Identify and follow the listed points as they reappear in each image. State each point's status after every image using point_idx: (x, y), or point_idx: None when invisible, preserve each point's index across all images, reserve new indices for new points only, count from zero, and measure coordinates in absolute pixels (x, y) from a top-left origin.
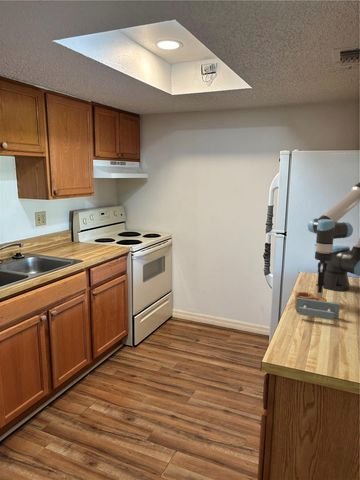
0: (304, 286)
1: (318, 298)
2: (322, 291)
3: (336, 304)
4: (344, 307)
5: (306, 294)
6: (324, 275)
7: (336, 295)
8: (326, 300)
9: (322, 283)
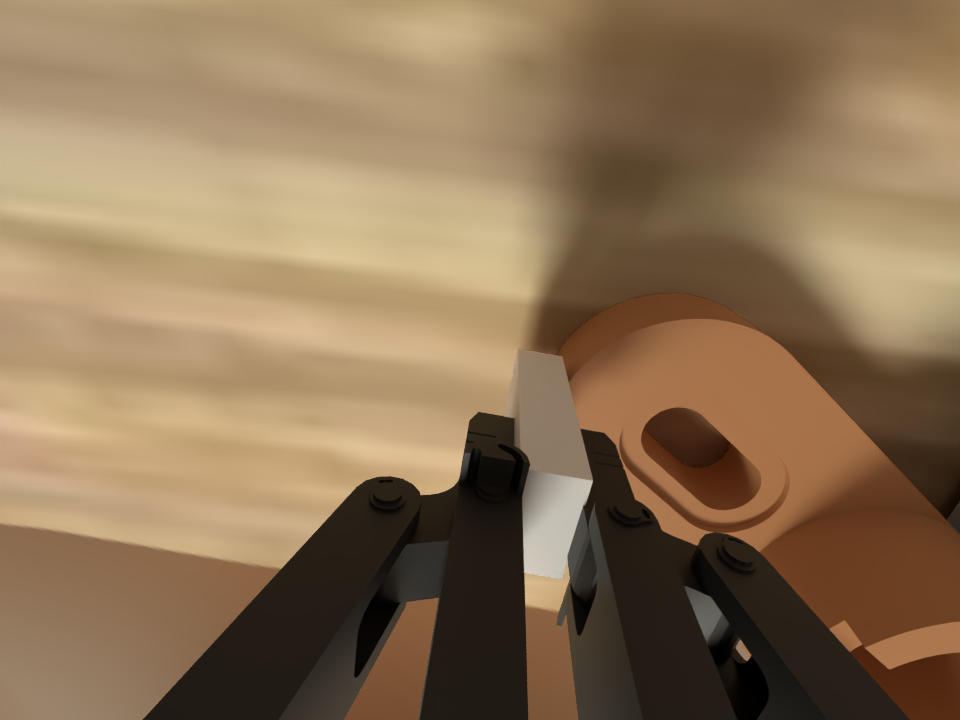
0: (12, 472)
1: (625, 422)
2: (575, 421)
3: None
4: (718, 7)
5: None
6: (232, 639)
7: (146, 74)
8: (716, 325)
9: (811, 627)
